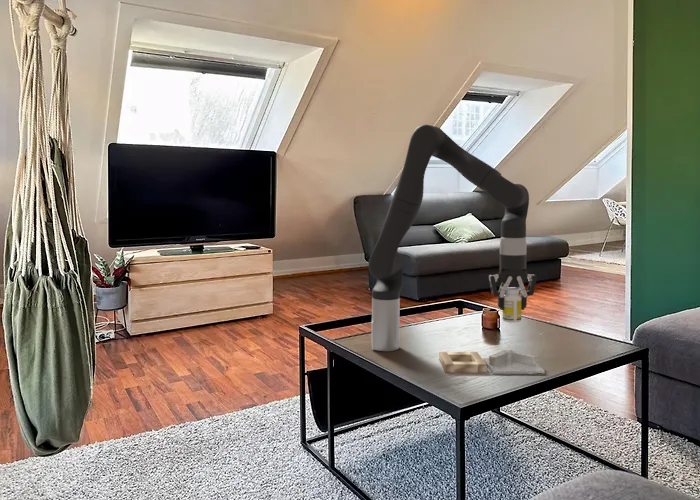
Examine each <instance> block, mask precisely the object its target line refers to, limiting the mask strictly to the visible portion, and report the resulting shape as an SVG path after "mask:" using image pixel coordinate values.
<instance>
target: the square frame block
mask: <svg viewBox="0 0 700 500" xmlns="http://www.w3.org/2000/svg"><path fill="white" fill-rule="evenodd" d="M438 362H439V363H440V365H441V367H442V369H443V371H444V373H445V374H447V373H451V374H452V373H453V374H455V373H456V374H457V373H459V374H460V373H461V374H462V373H465V374H466V373H472V374H473V373H475V374H479V373H482V374H484V373H485V374H487V366H486V363H485V362H484V360H483V357H482V356H481V354H479V352H478V351H439V352H438Z"/></svg>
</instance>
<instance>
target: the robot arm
mask: <svg viewBox="0 0 700 500" xmlns="http://www.w3.org/2000/svg"><path fill="white" fill-rule="evenodd" d="M432 157H434V158H435V159H436V158H437V159H439V160H440V161H443V162H445V163H446V164H449V165H450V166H451V167H452V168H453V169H455V170H456V171H457V172H458V173H459V174H460V175H461V176H462V177H464V178H465V180H468V182H470V183H472V184H473V186H476V187H477V188H479V189H480V190H482V191H484V192H485V193H487V194H488V196H490V197H491V198H492V199H493V201H495V202H497V203H498V204H500V205H501V206H502V207H504V216H503V218H502V220H501V223H500V241H499V242H500V243H499V249H498V250H499V271H498V273H495V274H489V275H488V282H489V287H490V291H491V294H492V295H493V296H495V297H497V307H498V309H499V310H500V311H503V310H504V298H503V296H504V295H506V293H505V292H506V291H507V289H508V287H516V288H519V294H520V296H521V298H522V304H521V311H524V310H525V309H526V308H527V306H528V305H527V304H528V303H527V300H528V299H527V298H528V297H529V296H534V294H535V293H534V292H535V289H536V284H537V279H538V276H537V275H536V274H533V273H531V274H530V273H528V272H527V224H526V223H527V217H528V212H529V205H530V195H529V191H528V189H527V188H526V186H524V185H523V184H520V183H513V182H511V181H510V180H508V179H507V178H506V177H504V176H503V175H502V173H501V172H500V171H499V170H497V169H495V168H494V167H493V166H491V165H490V164H488V163H486V162H485V161H483V160H481V159H480V158H478V157H477V156H475V155H473V154H471V153H470V152H468V150H465V149H464V148H463V147H461V145H459V144H458V143H456V142H455V141H454V140H453V139H452V138H451V137H449V136H448V134H446V132H445V131H443V129H442V128H440V127H438V126H435V125H431V124H422V125H419V126H417V127H416V128H415V129H414V130H413V132H412V133H411V137H410V139H409V144H408V148H407V153H406V156H405V161H404V165H403V168H402V170H401V174H400V176H399V179H398V182H397V185H396V187H395V190H394V192H393V196H392V198H391V201H390V204H389V207H388V211H387V214H386V216H385V218H384V222H383V226H382V229H381V231H380V234H379V236H378V239H377V241H376V243H375V246H374V248H373V250H372V252H371V254H370V256H369V259H368V262H367V263H368V270H369V273H370V275H371V276H372V277H373V278H375V279H376V283H375V284H374V287H373V288H372V290H371V350H372V351H379V352H393V351H397V350H398V349H400V316H401V315H400V308H401V307H400V303H401V298H400V297H401V295H400V293H401V291H402V288H403V276H404V275H403V272H404V271H403V270H404V263H403V258H402V256H401V254H400V253H399V251H398V250H399V247H400V244H401V242H402V240H403V239H404V237H405V235H406V234H407V233H408V232H409V230H410V228H411V227H412V225H413V224H414V222H415V220H416V218H417V217H418V214H419V212H420V211H419V210H420V208H421V205H422V202H423V198H424V185H425V181H424V180H425V175H426V174H425V173H426V170H427V167H428V165H429V163H430V160H431V158H432ZM498 279H499V280H500V282H501V284H500V286H499V288H498V289H499V290H498V289H497V283H498ZM526 279H527V280H528V285H527V289H526V287H525V284H524V282H525V281H526ZM496 282H497V283H496Z"/></svg>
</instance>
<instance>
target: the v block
mask: <svg viewBox="0 0 700 500" xmlns="http://www.w3.org/2000/svg"><path fill="white" fill-rule="evenodd" d="M482 359H483V360H484V362H485V363H486V368H487V369H488V370H489V371H490V373H491V374H492V375H530V374H529V373H544V374H545V370H544V369H543V368H542V367H541V366H540V365H539V364H538V363H537V355H533V354H530V353H529V354H528V353H524V352H520V351H516V350H513V349H502V350H501V351H499V352H496V353H494V354H492V355H489V356H488V357H486V358H485V357H482Z"/></svg>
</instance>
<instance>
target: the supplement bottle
mask: <svg viewBox="0 0 700 500" xmlns="http://www.w3.org/2000/svg"><path fill="white" fill-rule="evenodd" d="M519 294H520V291H519V288H518V287H508V289H507V291H506V292H505V294H504V296H503V298H504V310H502V321H503V322H505V323H511V324H512V323H516V324H517V323H521V321H522V310H521V304H522V298H521V295H519Z"/></svg>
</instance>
